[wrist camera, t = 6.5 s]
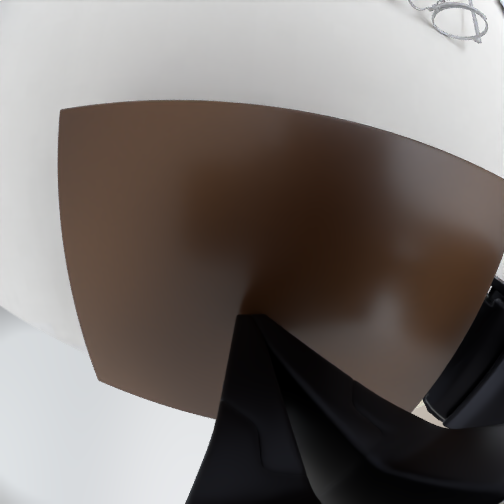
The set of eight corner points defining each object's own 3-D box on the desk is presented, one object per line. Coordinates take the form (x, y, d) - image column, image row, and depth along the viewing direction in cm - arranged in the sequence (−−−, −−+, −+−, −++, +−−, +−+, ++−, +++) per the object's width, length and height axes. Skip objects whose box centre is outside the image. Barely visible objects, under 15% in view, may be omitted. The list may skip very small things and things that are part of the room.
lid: (507, 183, 6) (522, 189, 5) (389, 422, 10) (391, 435, 10) (75, 109, 7) (59, 109, 6) (105, 369, 12) (97, 380, 11)
